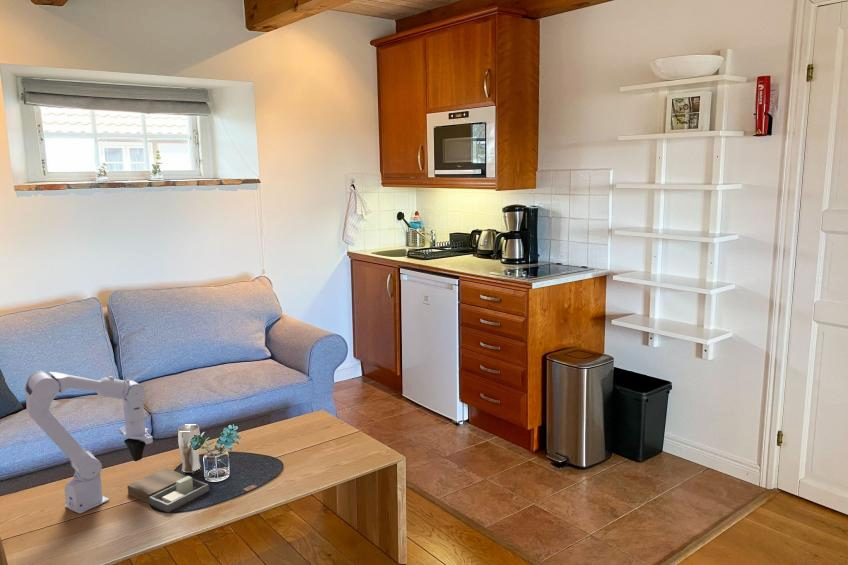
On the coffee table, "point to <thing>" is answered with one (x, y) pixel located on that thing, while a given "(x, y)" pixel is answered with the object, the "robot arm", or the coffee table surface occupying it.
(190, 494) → the box
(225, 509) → the coffee table surface
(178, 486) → the sage tile
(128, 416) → the robot arm
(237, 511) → the coffee table surface
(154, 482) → the walnut board
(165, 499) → the cream tile
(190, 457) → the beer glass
